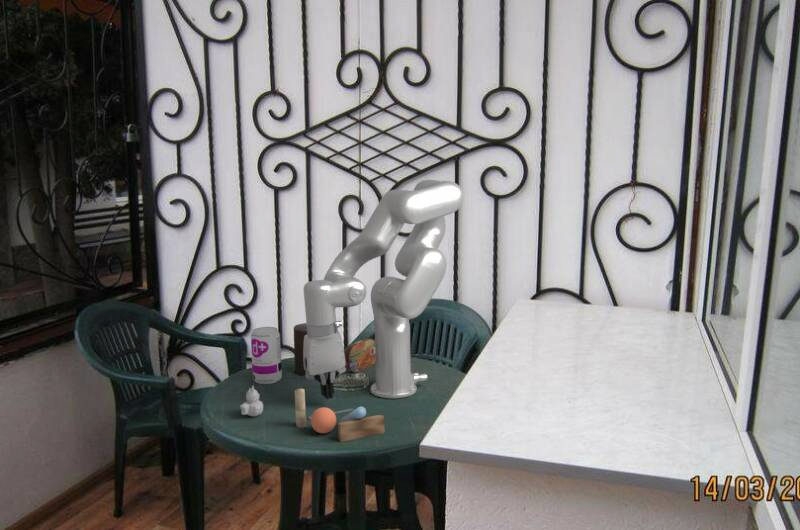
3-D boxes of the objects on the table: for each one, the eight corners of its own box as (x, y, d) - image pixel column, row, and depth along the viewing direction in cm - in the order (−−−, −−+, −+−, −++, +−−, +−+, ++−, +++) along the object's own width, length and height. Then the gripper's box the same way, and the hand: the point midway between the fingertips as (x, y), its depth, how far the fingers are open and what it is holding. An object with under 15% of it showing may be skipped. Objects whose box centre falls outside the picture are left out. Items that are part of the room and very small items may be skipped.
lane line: (352, 409, 185) (352, 408, 185) (353, 410, 184) (353, 409, 184) (307, 417, 180) (307, 417, 179) (309, 419, 179) (308, 418, 179)
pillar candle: (295, 377, 210) (294, 327, 208) (293, 366, 220) (292, 319, 217) (329, 374, 212) (328, 325, 210) (325, 364, 222) (324, 317, 219)
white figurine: (269, 414, 182) (267, 384, 181) (248, 422, 177) (246, 391, 176) (255, 409, 186) (253, 380, 184) (234, 417, 181) (232, 387, 179)
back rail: (381, 430, 171) (381, 414, 170) (384, 432, 169) (384, 416, 169) (338, 439, 166) (337, 423, 165) (340, 442, 165) (340, 425, 164)
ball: (344, 419, 172) (330, 399, 171) (336, 431, 166) (322, 410, 166) (324, 429, 174) (311, 409, 173) (316, 441, 168) (302, 420, 168)
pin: (348, 417, 175) (365, 406, 168) (349, 427, 174) (366, 416, 167) (339, 417, 173) (356, 406, 167) (340, 427, 172) (357, 416, 166)
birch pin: (304, 423, 176) (302, 387, 175) (307, 426, 174) (305, 390, 173) (294, 424, 175) (293, 389, 174) (298, 428, 173) (296, 392, 172)
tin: (350, 376, 211) (349, 348, 209) (341, 374, 212) (340, 346, 211) (379, 362, 223) (378, 336, 222) (371, 360, 225) (370, 334, 223)
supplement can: (268, 386, 203) (266, 335, 200) (247, 381, 207) (244, 331, 205) (287, 378, 210) (285, 328, 207) (266, 373, 214) (263, 324, 211)
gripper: (343, 320, 190) (349, 386, 193) (289, 330, 183) (295, 398, 187) (354, 327, 183) (360, 395, 187) (298, 338, 177) (305, 408, 180)
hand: (327, 396), depth 187 cm, fingers closed
